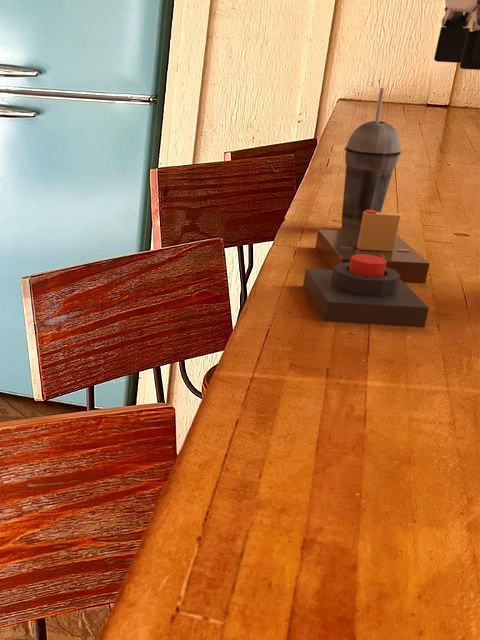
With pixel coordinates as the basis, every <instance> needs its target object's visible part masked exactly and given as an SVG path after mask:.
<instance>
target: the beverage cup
mask: <svg viewBox="0 0 480 640" xmlns="http://www.w3.org/2000/svg"><path fill="white" fill-rule="evenodd" d="M384 92H385V87H381V88H379V93H378V101H377V107H376V113H375V119H374V120H370V121H367V122H365V123H363V124H361V125H359V126H358V127H357V128H355V130H354V131H353V132H352V133H351V135H350V137H348V140H347V144H346V146H345V148H344V151H345V155H344V159H345V160H344V161H345V162H344V163H345V176H344V186H343V187H344V189H343V200H342V211H341V229H340V231H356V232H360V227H361V222H362V216H363V211H366V210H375V211H376V212H382V210H383V206H384V203H385V199H386V196H387V192H388V189H389V186H390V182H391V178H392V175H393V171H394V169H395V168H396V166H397V163H398V161H399V157H400V155H401V138H400V136H399V133H398V131H397V129H396V128H395V127H393V126H392V125H391V124H390V123H388V122H386V121H381V120H380V118H381V113H382V112H381V111H382V106H383V99H384Z"/></svg>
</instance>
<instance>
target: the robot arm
mask: <svg viewBox="0 0 480 640" xmlns="http://www.w3.org/2000/svg"><path fill="white" fill-rule="evenodd" d="M444 5H445V8H444V11H445V12H444V15H443V17H442V19H441V27H440V30H439V35H438V39H437V44H436V48H435V54H434V57H433V59H434V61H435V62H436V63H438V62H439V63H453V64H454V63H456V64H459V69H461V70H476V71H480V0H444ZM470 22H471V28H470V27H468V25H469V23H470Z"/></svg>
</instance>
